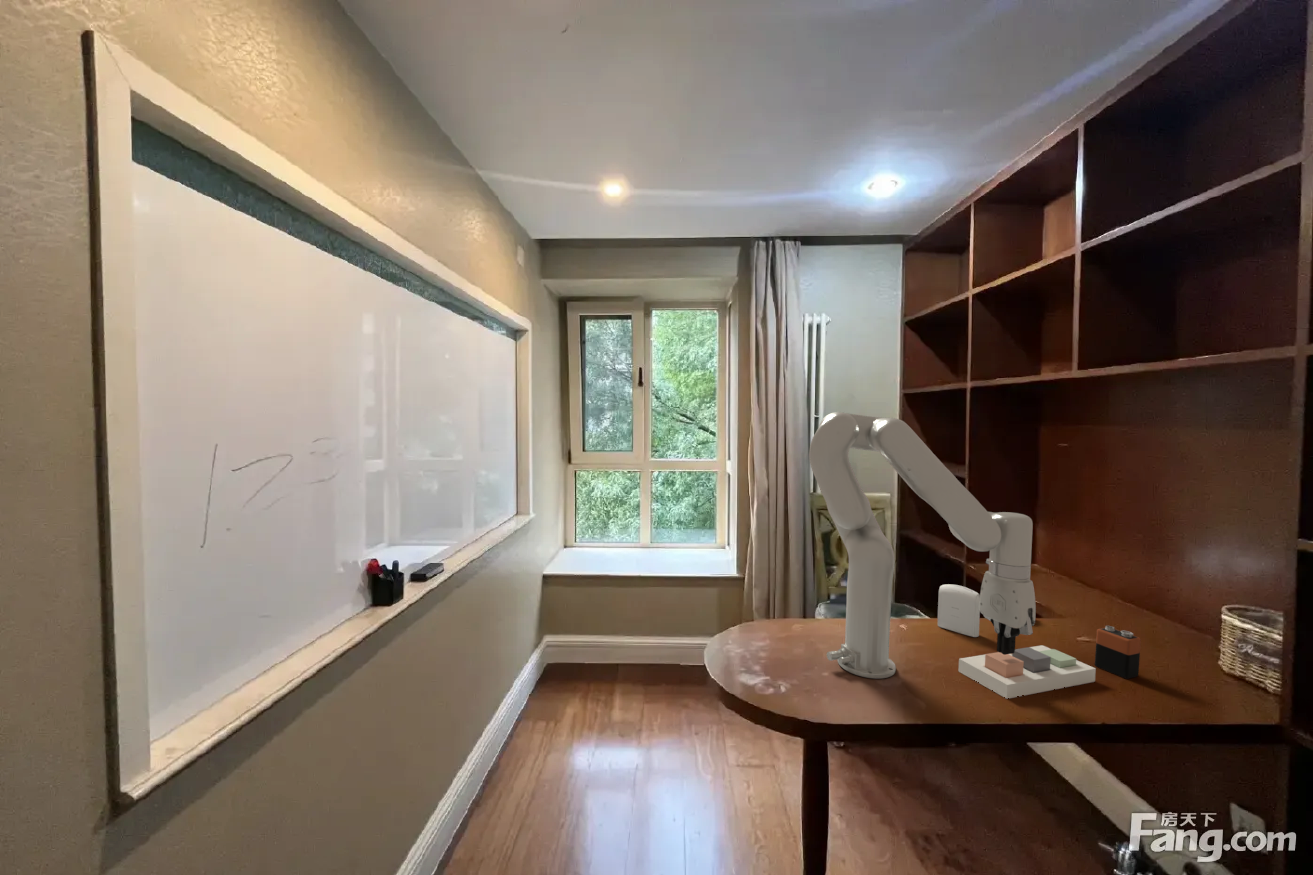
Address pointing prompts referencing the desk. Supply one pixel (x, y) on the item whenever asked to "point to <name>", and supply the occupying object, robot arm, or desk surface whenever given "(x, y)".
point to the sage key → (1059, 658)
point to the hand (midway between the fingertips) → (1005, 652)
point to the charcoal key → (1033, 659)
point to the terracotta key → (1004, 664)
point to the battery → (1117, 652)
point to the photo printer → (959, 609)
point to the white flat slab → (1026, 677)
